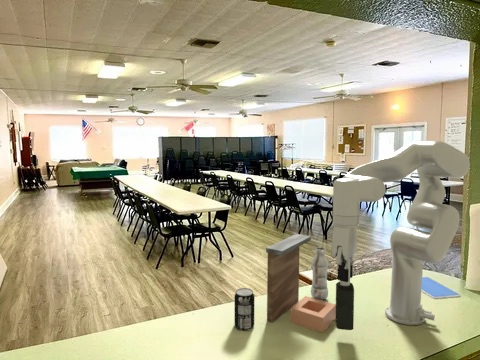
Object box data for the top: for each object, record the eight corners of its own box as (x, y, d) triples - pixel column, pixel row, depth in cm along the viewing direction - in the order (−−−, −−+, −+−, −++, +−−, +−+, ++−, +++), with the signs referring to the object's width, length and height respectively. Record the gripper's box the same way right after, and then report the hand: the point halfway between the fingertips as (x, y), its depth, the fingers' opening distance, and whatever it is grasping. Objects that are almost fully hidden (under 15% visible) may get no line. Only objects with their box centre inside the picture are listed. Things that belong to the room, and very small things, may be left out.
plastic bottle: (321, 304, 133) (322, 252, 131) (307, 298, 138) (308, 248, 136) (331, 299, 137) (332, 249, 135) (317, 293, 142) (318, 245, 140)
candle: (353, 330, 106) (355, 250, 103) (336, 329, 107) (337, 249, 104) (352, 321, 111) (353, 245, 108) (335, 320, 112) (336, 244, 109)
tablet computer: (461, 297, 140) (462, 294, 140) (433, 300, 138) (434, 297, 137) (427, 279, 159) (427, 276, 159) (402, 281, 157) (402, 278, 156)
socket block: (335, 318, 123) (336, 304, 122) (322, 332, 113) (323, 317, 113) (305, 309, 129) (305, 296, 129) (290, 322, 120) (290, 308, 119)
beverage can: (244, 319, 122) (244, 285, 121) (258, 326, 117) (258, 291, 116) (230, 326, 117) (230, 291, 116) (244, 333, 113) (244, 297, 111)
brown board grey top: (309, 303, 134) (310, 236, 131) (281, 328, 116) (282, 251, 113) (294, 299, 137) (296, 233, 134) (265, 322, 119) (266, 247, 117)
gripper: (342, 213, 114) (342, 268, 116) (323, 224, 101) (322, 285, 103) (366, 216, 110) (365, 272, 112) (349, 227, 97) (348, 291, 99)
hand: (345, 278), depth 108 cm, fingers closed on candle, 3 cm apart
